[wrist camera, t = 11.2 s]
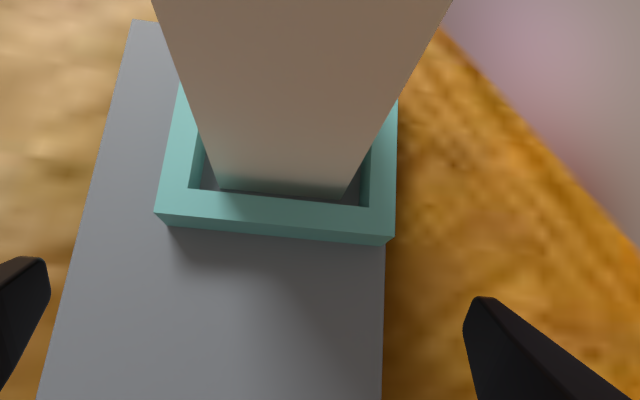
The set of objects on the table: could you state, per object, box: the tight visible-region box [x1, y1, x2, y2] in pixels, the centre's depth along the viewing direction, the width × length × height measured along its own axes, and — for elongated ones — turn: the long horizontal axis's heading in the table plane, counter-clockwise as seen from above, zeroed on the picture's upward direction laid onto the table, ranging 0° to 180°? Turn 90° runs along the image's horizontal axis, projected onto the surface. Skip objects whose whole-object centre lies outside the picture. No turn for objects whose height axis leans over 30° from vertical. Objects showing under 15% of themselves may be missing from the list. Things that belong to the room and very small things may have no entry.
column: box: [151, 0, 453, 200], centre depth 12 cm, size 5×5×13 cm
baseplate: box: [35, 19, 398, 400], centre depth 16 cm, size 19×12×3 cm, turn 176°
